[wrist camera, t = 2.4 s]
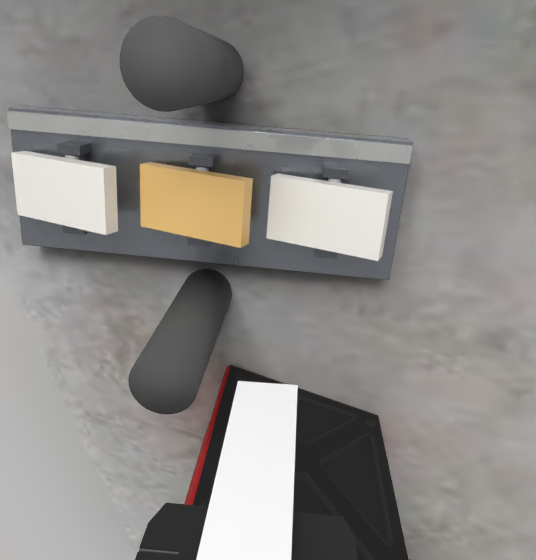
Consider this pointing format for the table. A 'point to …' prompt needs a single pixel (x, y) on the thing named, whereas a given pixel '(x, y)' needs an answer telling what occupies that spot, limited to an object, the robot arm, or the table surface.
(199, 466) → the red boxy piece
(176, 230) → the paddle mid
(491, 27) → the table surface
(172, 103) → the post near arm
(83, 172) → the paddle far
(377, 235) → the paddle near
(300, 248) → the panel
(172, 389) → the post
